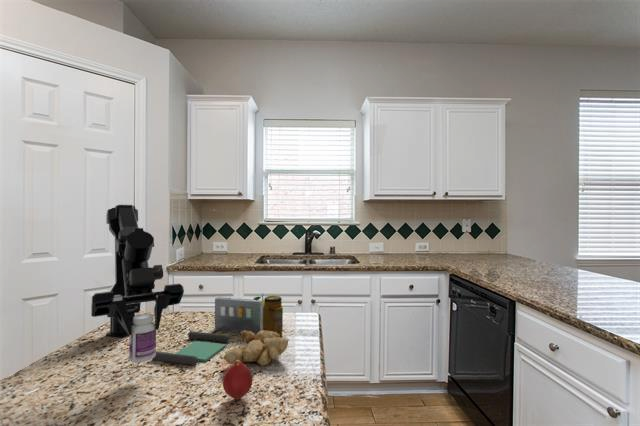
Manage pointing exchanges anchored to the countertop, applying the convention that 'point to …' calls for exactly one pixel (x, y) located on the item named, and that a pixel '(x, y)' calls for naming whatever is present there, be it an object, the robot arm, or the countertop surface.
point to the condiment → (273, 315)
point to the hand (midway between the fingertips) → (144, 331)
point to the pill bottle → (142, 339)
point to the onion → (237, 380)
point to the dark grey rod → (208, 336)
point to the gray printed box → (238, 314)
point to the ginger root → (258, 348)
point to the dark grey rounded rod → (176, 358)
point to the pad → (202, 350)
